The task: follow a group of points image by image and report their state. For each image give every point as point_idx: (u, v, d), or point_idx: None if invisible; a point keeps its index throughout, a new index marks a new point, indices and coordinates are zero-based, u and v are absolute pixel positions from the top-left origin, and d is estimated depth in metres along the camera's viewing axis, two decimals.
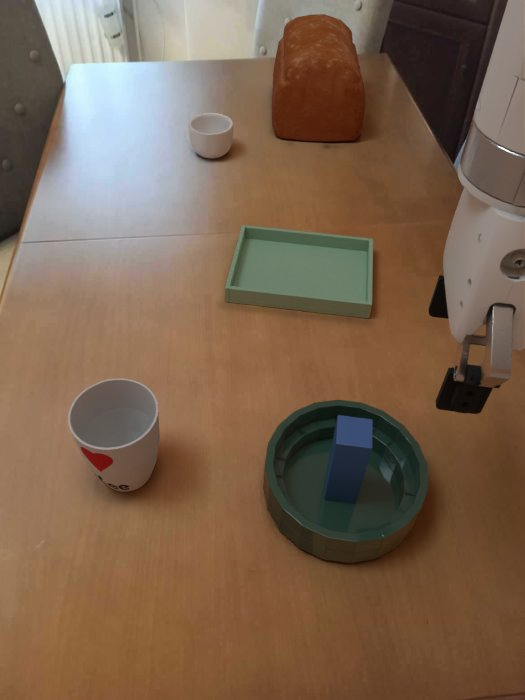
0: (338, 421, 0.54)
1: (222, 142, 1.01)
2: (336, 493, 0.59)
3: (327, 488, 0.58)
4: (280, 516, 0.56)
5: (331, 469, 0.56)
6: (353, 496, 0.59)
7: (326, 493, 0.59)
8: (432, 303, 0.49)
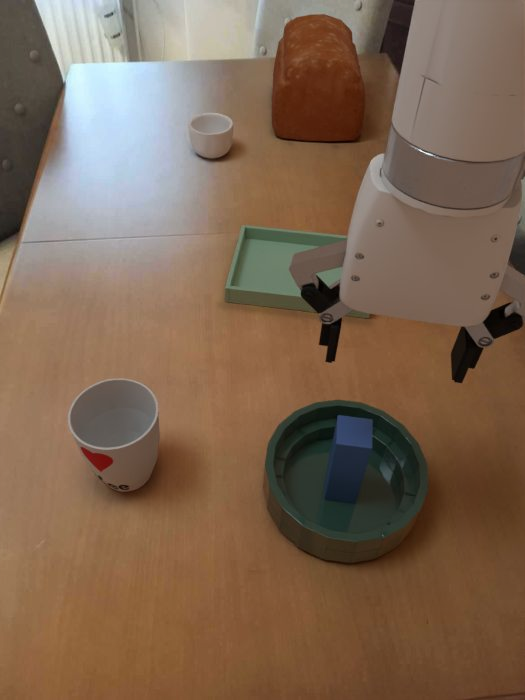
0: (338, 421, 0.54)
1: (222, 142, 1.01)
2: (336, 493, 0.59)
3: (327, 488, 0.58)
4: (280, 516, 0.56)
5: (331, 469, 0.56)
6: (353, 496, 0.59)
7: (326, 493, 0.59)
8: (333, 352, 0.45)
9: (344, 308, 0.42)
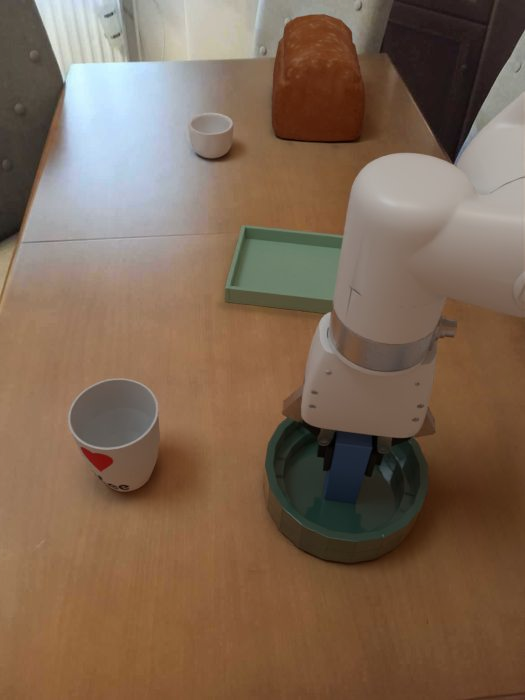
0: None
1: (222, 142, 1.01)
2: (336, 493, 0.59)
3: (327, 488, 0.58)
4: (280, 516, 0.56)
5: (331, 469, 0.56)
6: (353, 496, 0.59)
7: (326, 493, 0.59)
8: (329, 464, 0.55)
9: (328, 432, 0.52)
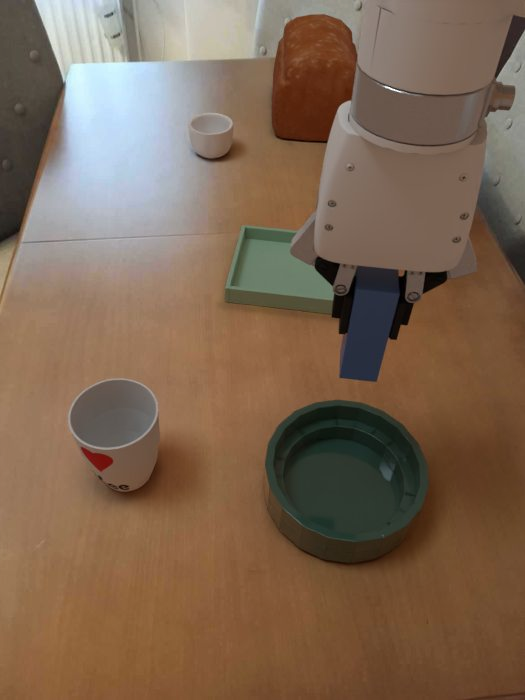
0: (357, 268, 0.45)
1: (222, 142, 1.01)
2: (354, 368, 0.50)
3: (343, 361, 0.49)
4: (280, 516, 0.56)
5: (349, 331, 0.47)
6: (374, 371, 0.49)
7: (342, 368, 0.50)
8: (346, 323, 0.46)
9: (347, 273, 0.43)
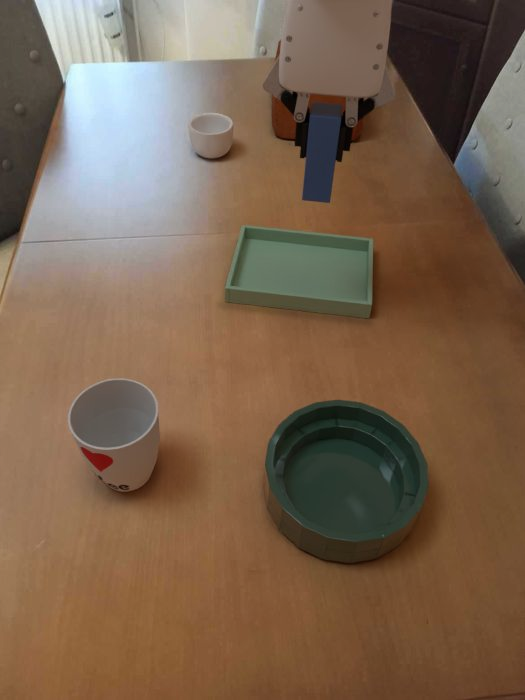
0: (312, 105, 0.62)
1: (222, 142, 1.01)
2: (312, 189, 0.67)
3: (304, 183, 0.66)
4: (280, 516, 0.56)
5: (307, 154, 0.64)
6: (327, 192, 0.67)
7: (303, 191, 0.67)
8: (305, 147, 0.63)
9: (303, 101, 0.60)
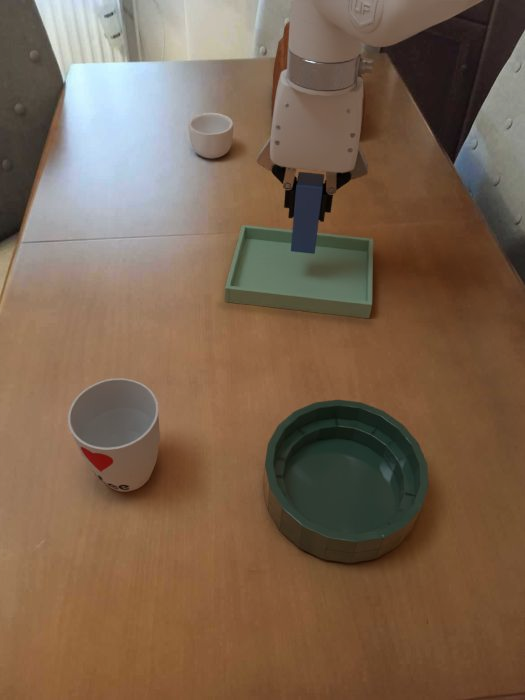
0: (298, 174, 0.73)
1: (222, 142, 1.01)
2: (299, 243, 0.78)
3: (292, 238, 0.78)
4: (280, 516, 0.56)
5: (294, 215, 0.75)
6: (312, 245, 0.78)
7: (292, 244, 0.78)
8: (292, 210, 0.75)
9: (290, 174, 0.71)
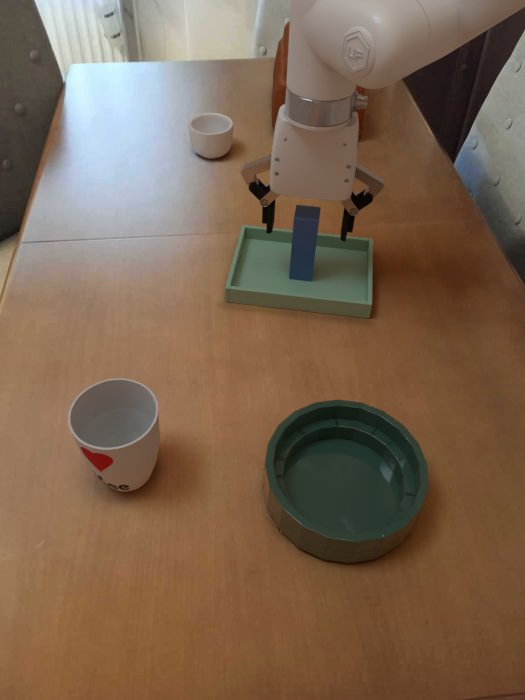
0: (296, 207, 0.77)
1: (222, 142, 1.01)
2: (297, 271, 0.81)
3: (290, 266, 0.81)
4: (280, 516, 0.56)
5: (292, 246, 0.79)
6: (309, 273, 0.81)
7: (290, 272, 0.82)
8: (270, 225, 0.77)
9: (273, 195, 0.73)
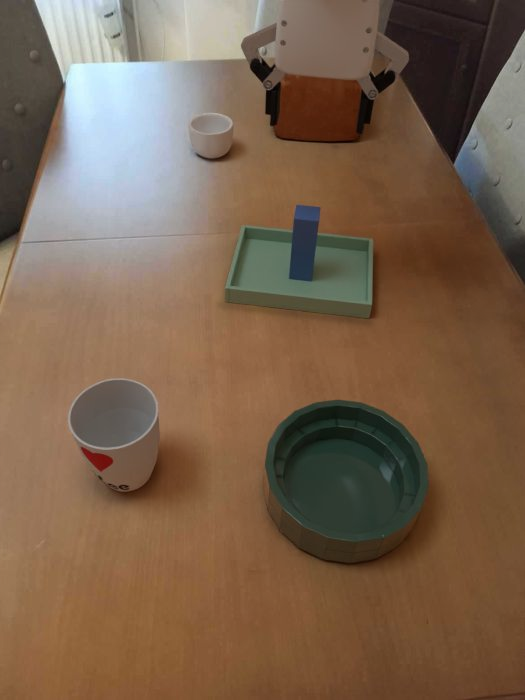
0: (296, 207, 0.77)
1: (222, 142, 1.01)
2: (297, 271, 0.81)
3: (290, 266, 0.81)
4: (280, 516, 0.56)
5: (292, 246, 0.79)
6: (309, 273, 0.81)
7: (290, 272, 0.82)
8: (274, 115, 0.66)
9: (279, 74, 0.63)
